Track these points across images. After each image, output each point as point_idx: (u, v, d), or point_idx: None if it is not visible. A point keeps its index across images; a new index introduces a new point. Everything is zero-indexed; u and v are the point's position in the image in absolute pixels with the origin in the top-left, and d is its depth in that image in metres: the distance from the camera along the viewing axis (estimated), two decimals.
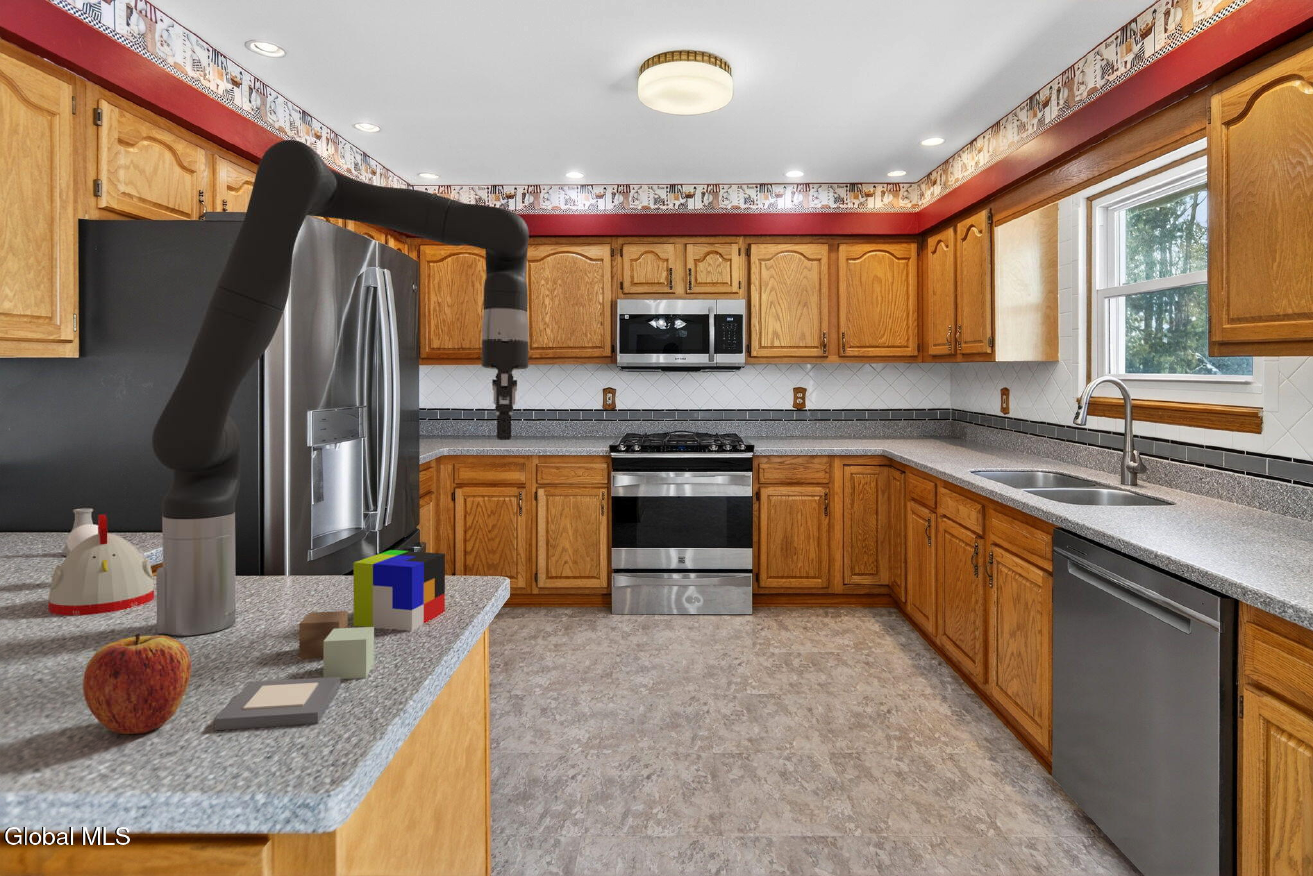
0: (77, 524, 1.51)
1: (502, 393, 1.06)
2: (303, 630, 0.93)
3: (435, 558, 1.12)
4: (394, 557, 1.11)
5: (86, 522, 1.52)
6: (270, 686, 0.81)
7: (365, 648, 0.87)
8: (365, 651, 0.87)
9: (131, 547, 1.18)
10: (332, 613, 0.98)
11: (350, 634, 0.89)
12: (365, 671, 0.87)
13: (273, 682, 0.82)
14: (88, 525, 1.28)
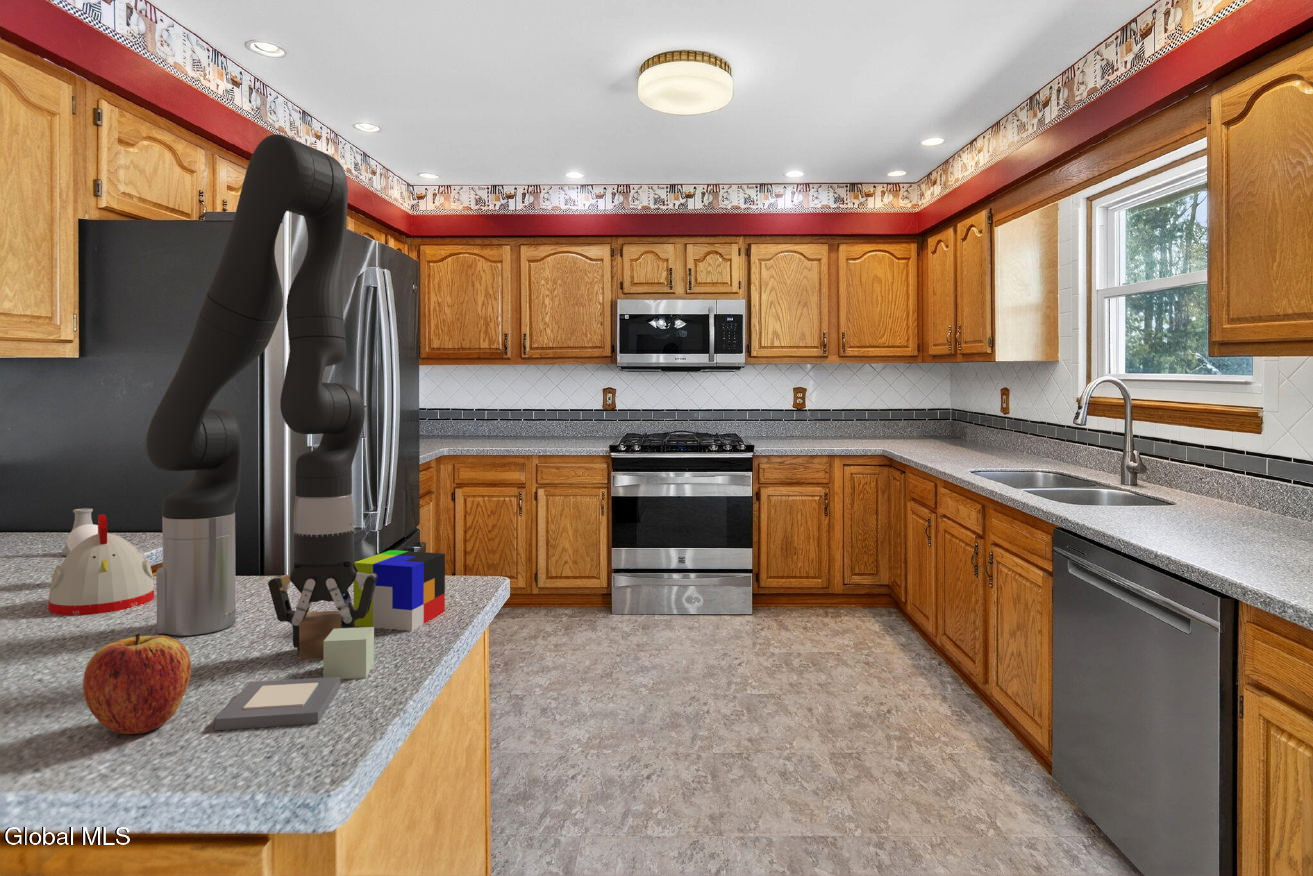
0: (77, 524, 1.51)
1: (370, 598, 0.97)
2: (303, 630, 0.93)
3: (435, 558, 1.12)
4: (394, 557, 1.11)
5: (86, 522, 1.52)
6: (270, 686, 0.81)
7: (365, 648, 0.87)
8: (365, 651, 0.87)
9: (131, 547, 1.18)
10: (332, 612, 0.98)
11: (350, 634, 0.89)
12: (365, 671, 0.87)
13: (273, 682, 0.82)
14: (88, 525, 1.28)
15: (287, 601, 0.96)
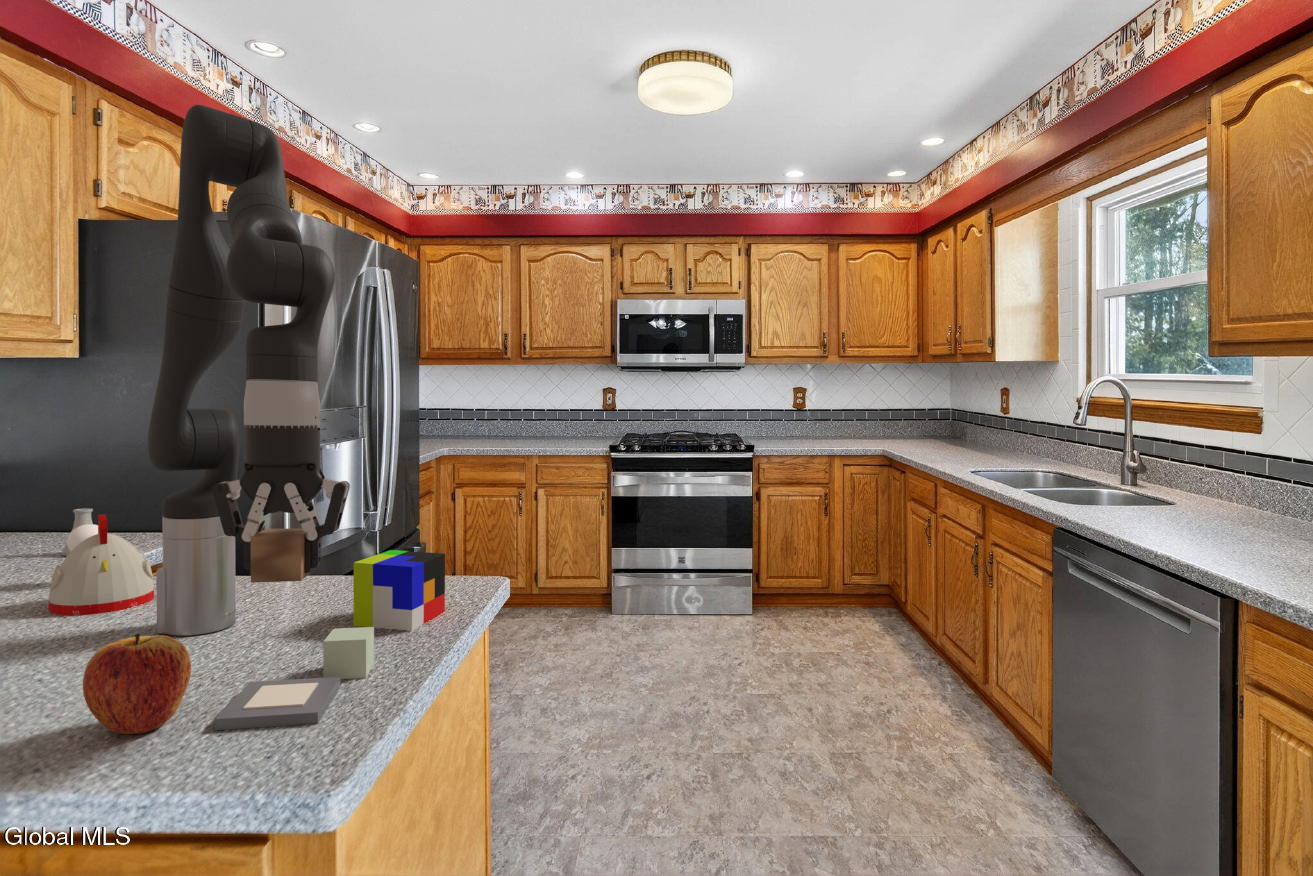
0: (77, 524, 1.51)
1: (341, 510, 0.79)
2: (255, 546, 0.75)
3: (435, 558, 1.12)
4: (394, 557, 1.11)
5: (86, 522, 1.52)
6: (270, 686, 0.81)
7: (365, 648, 0.87)
8: (365, 651, 0.87)
9: (131, 547, 1.18)
10: (293, 529, 0.80)
11: (350, 634, 0.89)
12: (365, 671, 0.87)
13: (273, 682, 0.82)
14: (88, 525, 1.28)
15: (237, 513, 0.77)
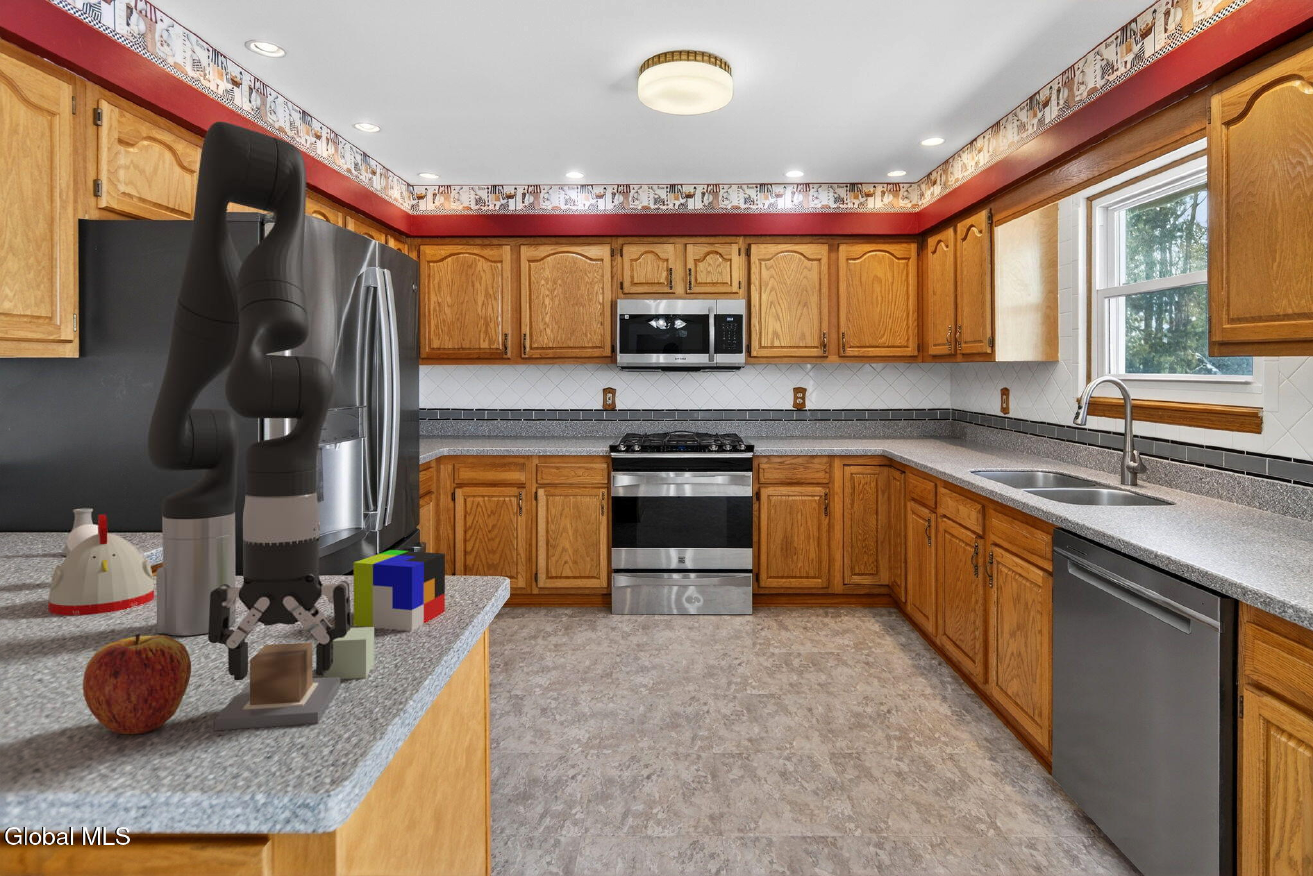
0: (77, 524, 1.51)
1: (347, 611, 0.79)
2: (255, 669, 0.76)
3: (435, 558, 1.12)
4: (394, 557, 1.11)
5: (86, 522, 1.52)
6: None
7: (365, 648, 0.87)
8: (365, 651, 0.87)
9: (131, 547, 1.18)
10: (293, 645, 0.80)
11: (350, 634, 0.89)
12: (365, 671, 0.87)
13: None
14: (88, 525, 1.28)
15: (227, 618, 0.78)
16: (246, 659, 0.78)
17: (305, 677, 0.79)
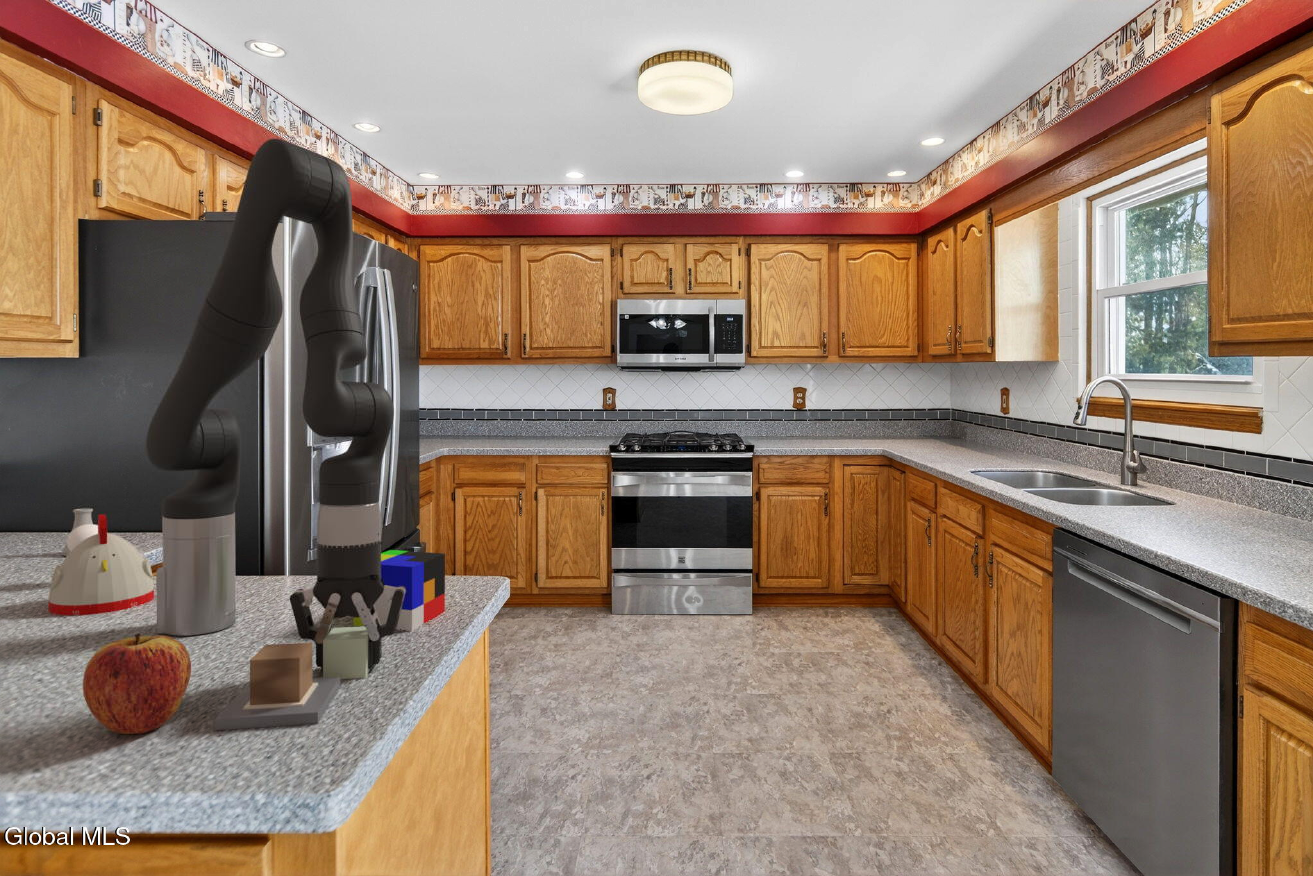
0: (77, 524, 1.51)
1: (399, 613, 0.90)
2: (255, 669, 0.76)
3: (435, 558, 1.12)
4: (394, 557, 1.11)
5: (86, 522, 1.52)
6: None
7: (365, 647, 0.87)
8: (365, 650, 0.87)
9: (131, 547, 1.18)
10: (293, 645, 0.80)
11: (350, 634, 0.89)
12: (365, 670, 0.87)
13: None
14: (88, 525, 1.28)
15: (309, 617, 0.89)
16: None
17: (305, 677, 0.79)
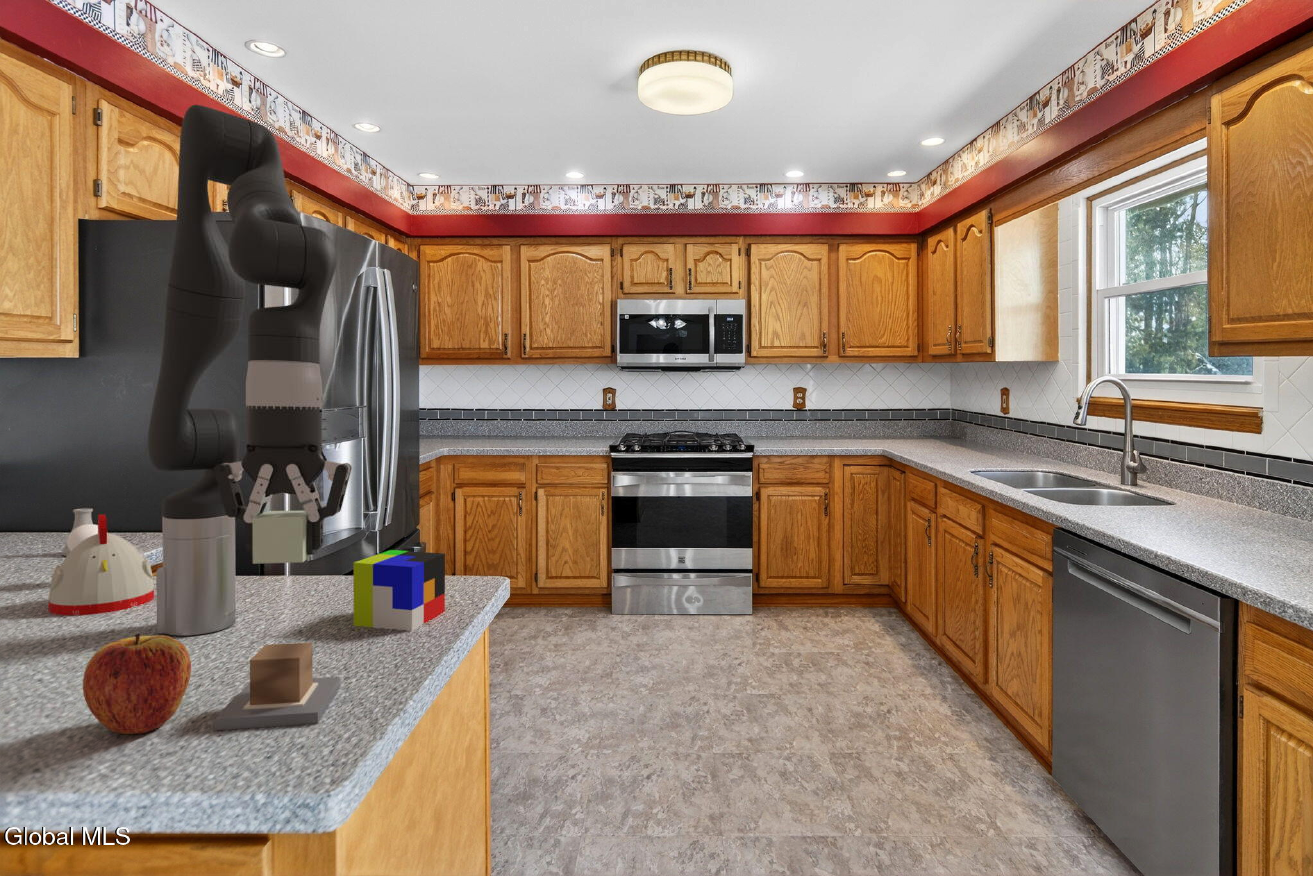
0: (77, 524, 1.51)
1: (342, 492, 0.79)
2: (255, 669, 0.76)
3: (435, 558, 1.12)
4: (394, 557, 1.11)
5: (86, 522, 1.52)
6: None
7: (301, 527, 0.76)
8: (301, 531, 0.76)
9: (131, 547, 1.18)
10: (293, 645, 0.80)
11: (285, 514, 0.78)
12: (301, 554, 0.76)
13: None
14: (88, 525, 1.28)
15: (239, 495, 0.78)
16: None
17: (305, 677, 0.79)
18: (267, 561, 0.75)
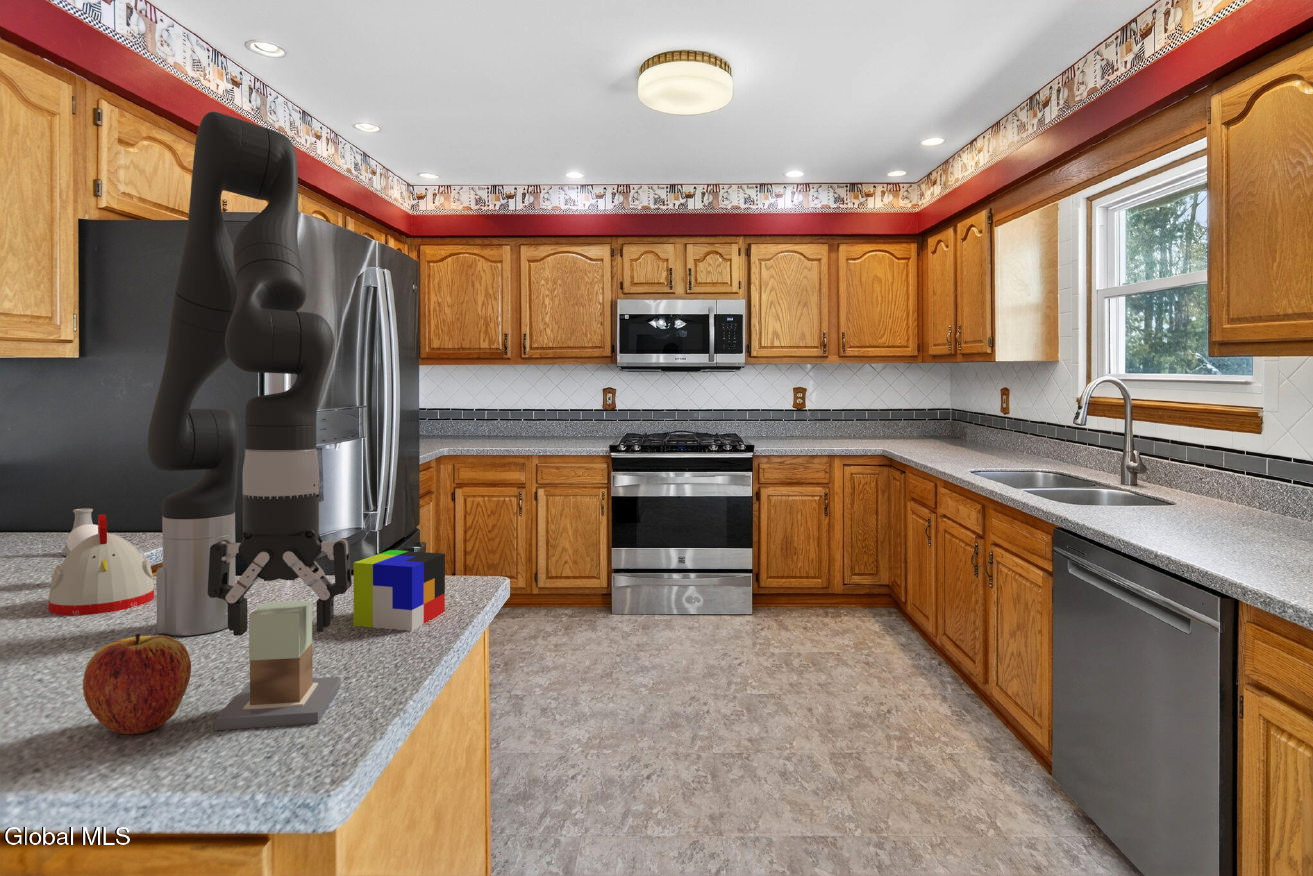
0: (77, 524, 1.51)
1: (347, 567, 0.79)
2: (255, 669, 0.76)
3: (435, 558, 1.12)
4: (394, 557, 1.11)
5: (86, 522, 1.52)
6: None
7: (298, 623, 0.76)
8: (298, 627, 0.76)
9: (131, 547, 1.18)
10: None
11: (282, 608, 0.78)
12: (298, 650, 0.76)
13: None
14: (88, 525, 1.28)
15: (226, 574, 0.77)
16: (245, 615, 0.78)
17: (305, 677, 0.79)
18: (263, 658, 0.76)
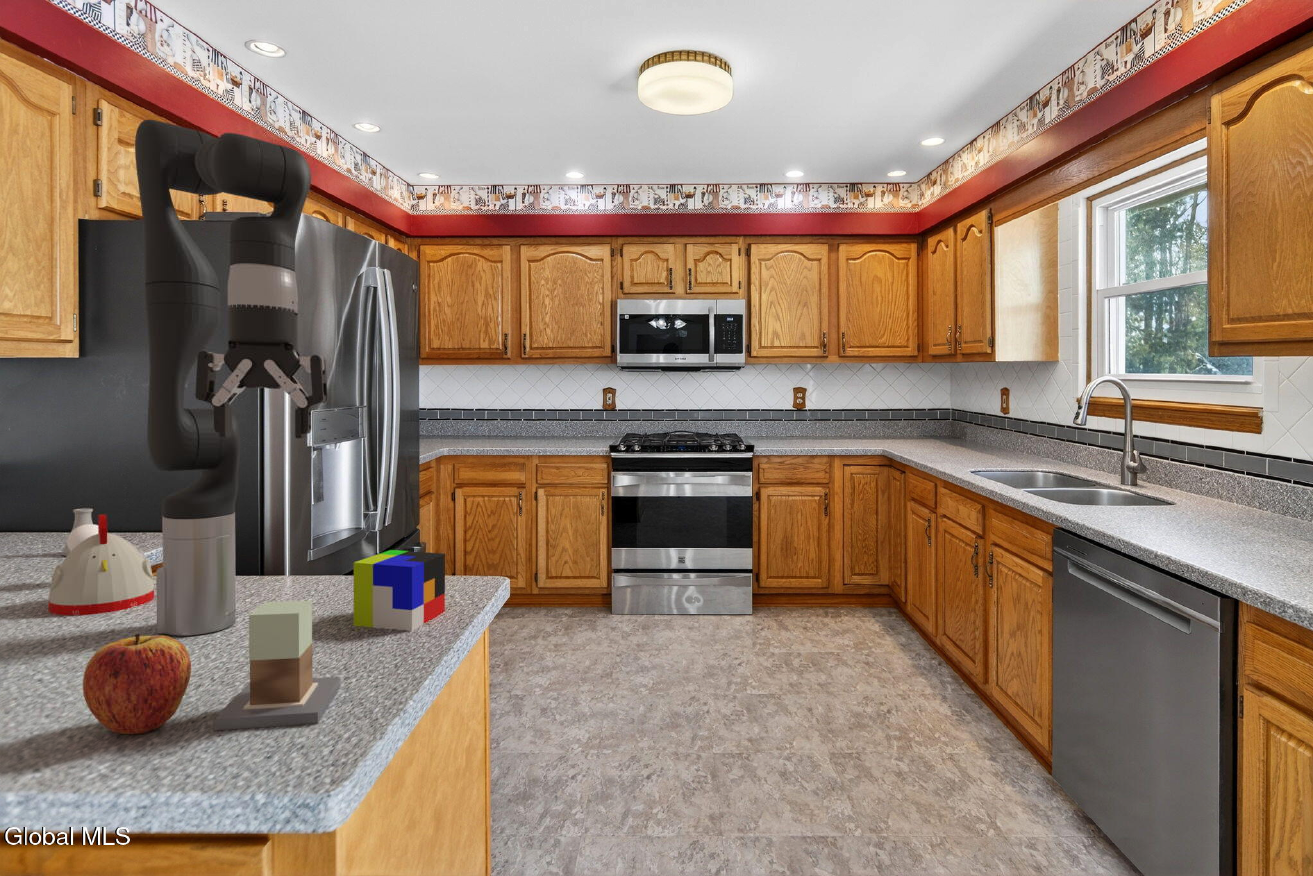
0: (77, 524, 1.51)
1: (323, 380, 0.87)
2: (255, 669, 0.76)
3: (435, 558, 1.12)
4: (394, 557, 1.11)
5: (86, 522, 1.52)
6: None
7: (298, 623, 0.76)
8: (298, 627, 0.76)
9: (131, 547, 1.18)
10: None
11: (282, 608, 0.78)
12: (298, 650, 0.76)
13: None
14: (88, 525, 1.28)
15: (213, 383, 0.85)
16: (230, 422, 0.86)
17: (305, 677, 0.79)
18: (263, 658, 0.76)
